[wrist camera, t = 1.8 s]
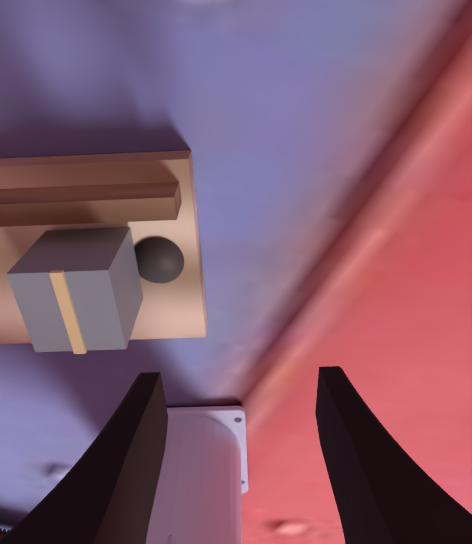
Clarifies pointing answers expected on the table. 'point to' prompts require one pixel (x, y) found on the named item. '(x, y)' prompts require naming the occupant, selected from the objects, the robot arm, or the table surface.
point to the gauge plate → (111, 214)
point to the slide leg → (78, 289)
